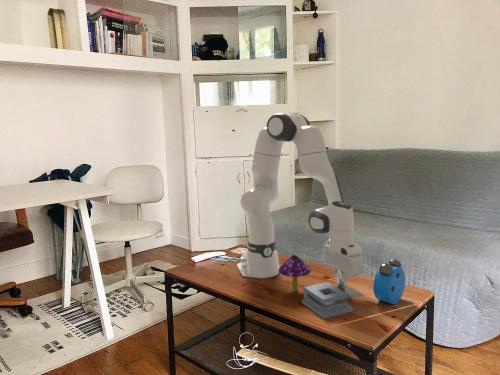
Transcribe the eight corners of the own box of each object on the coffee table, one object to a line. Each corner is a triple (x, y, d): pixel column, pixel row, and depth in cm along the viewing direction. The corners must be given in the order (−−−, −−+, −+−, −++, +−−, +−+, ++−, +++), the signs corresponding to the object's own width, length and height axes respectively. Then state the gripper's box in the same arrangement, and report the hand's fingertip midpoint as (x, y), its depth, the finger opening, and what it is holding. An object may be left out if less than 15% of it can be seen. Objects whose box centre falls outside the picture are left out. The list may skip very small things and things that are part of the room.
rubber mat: (319, 290, 156) (319, 289, 156) (344, 284, 161) (344, 283, 161) (337, 302, 145) (337, 301, 145) (364, 295, 150) (364, 294, 150)
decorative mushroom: (288, 301, 147) (287, 261, 145) (273, 289, 159) (272, 252, 156) (317, 295, 151) (317, 256, 149) (301, 283, 163) (300, 248, 161)
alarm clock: (389, 293, 151) (390, 255, 149) (405, 298, 146) (407, 258, 144) (372, 305, 142) (373, 264, 140) (389, 310, 137) (389, 268, 135)
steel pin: (335, 291, 153) (335, 266, 152) (342, 289, 155) (342, 264, 153) (340, 294, 151) (340, 268, 149) (346, 292, 152) (347, 267, 151)
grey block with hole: (301, 303, 145) (301, 287, 144) (329, 297, 149) (329, 281, 149) (323, 319, 132) (323, 302, 131) (353, 312, 137) (353, 295, 136)
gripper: (318, 239, 158) (318, 273, 160) (351, 253, 140) (351, 291, 142) (332, 237, 161) (332, 270, 163) (366, 250, 142) (365, 288, 144)
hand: (341, 280), depth 152 cm, fingers closed on steel pin, 3 cm apart
